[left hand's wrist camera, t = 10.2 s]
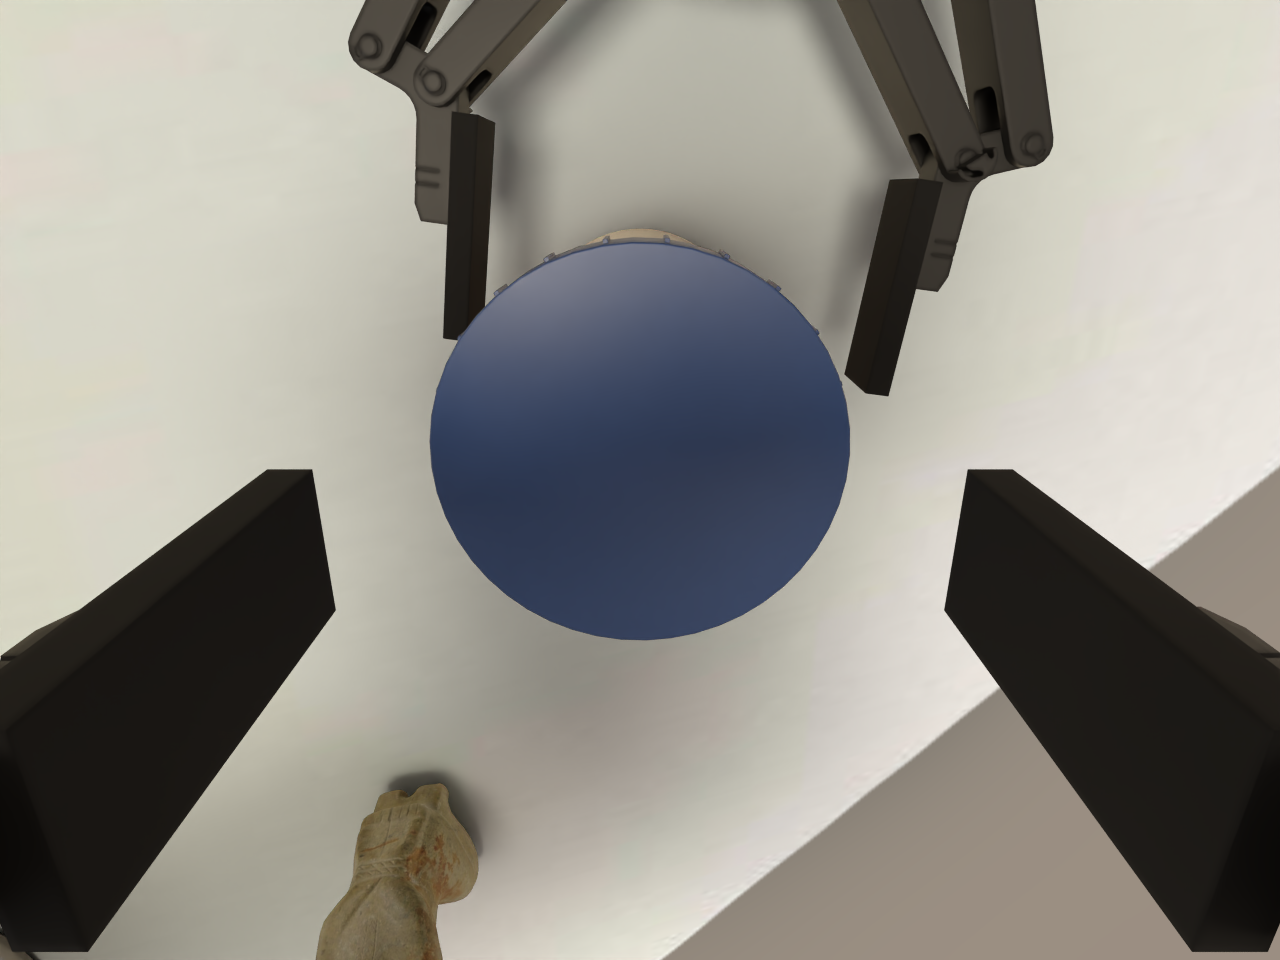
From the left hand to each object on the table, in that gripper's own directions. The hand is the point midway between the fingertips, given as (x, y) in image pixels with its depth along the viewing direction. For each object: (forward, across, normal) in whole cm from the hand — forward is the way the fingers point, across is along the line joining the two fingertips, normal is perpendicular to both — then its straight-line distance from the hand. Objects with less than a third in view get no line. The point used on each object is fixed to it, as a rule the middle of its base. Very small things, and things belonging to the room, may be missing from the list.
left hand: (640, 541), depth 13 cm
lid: (+5, 0, 0) cm, 5 cm away
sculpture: (+20, -12, -26) cm, 35 cm away
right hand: (+13, +1, 0) cm, 13 cm away
